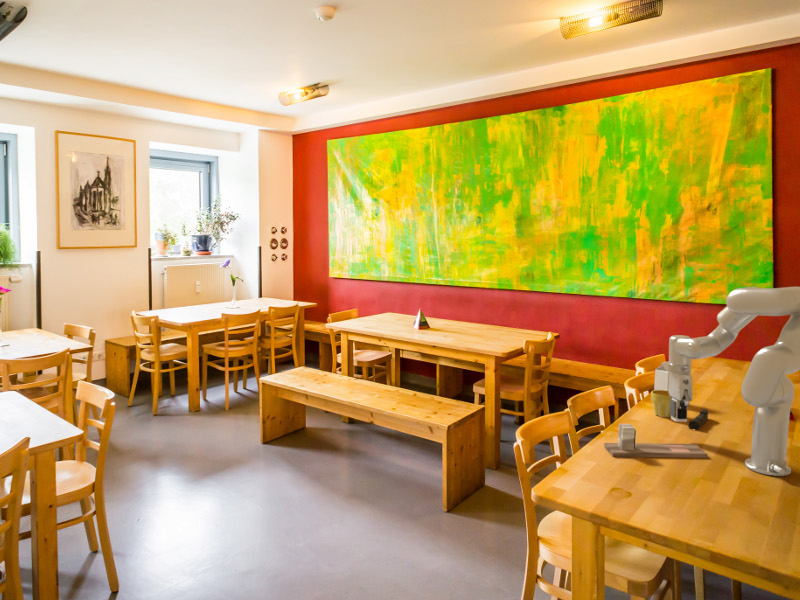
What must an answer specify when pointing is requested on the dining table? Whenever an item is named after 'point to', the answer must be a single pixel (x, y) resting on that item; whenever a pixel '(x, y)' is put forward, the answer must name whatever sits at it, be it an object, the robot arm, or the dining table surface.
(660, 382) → the milk carton
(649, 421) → the dining table surface
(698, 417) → the hand tool
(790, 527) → the dining table surface
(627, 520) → the dining table surface
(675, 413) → the block
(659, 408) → the plant pot
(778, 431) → the robot arm
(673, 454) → the rail
